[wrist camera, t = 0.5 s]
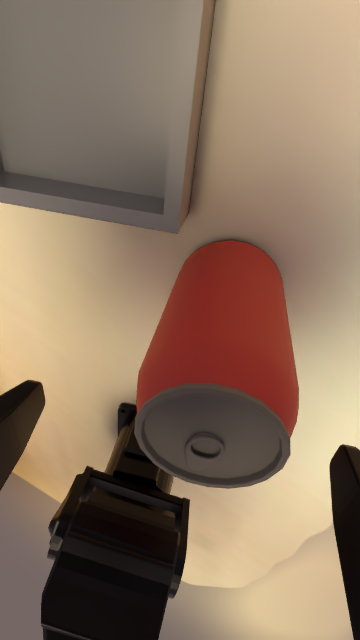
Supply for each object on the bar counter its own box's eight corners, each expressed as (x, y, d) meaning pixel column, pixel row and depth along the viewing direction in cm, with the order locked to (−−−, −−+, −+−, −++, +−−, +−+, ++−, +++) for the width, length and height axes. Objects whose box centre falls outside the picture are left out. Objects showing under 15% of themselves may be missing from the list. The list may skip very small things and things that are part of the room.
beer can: (168, 308, 23) (107, 463, 14) (196, 220, 19) (139, 350, 10) (256, 338, 23) (258, 514, 14) (301, 257, 19) (349, 422, 10)
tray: (188, 212, 19) (177, 233, 16) (2, 180, 20) (-39, 195, 17) (227, -94, 12) (220, -149, 10) (-56, -121, 13) (-139, -178, 10)
